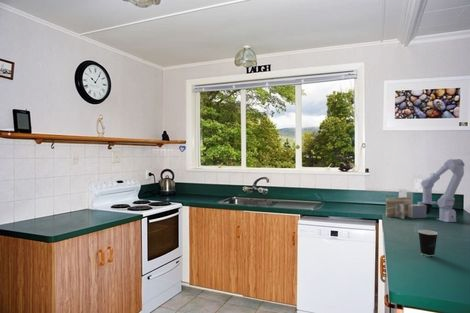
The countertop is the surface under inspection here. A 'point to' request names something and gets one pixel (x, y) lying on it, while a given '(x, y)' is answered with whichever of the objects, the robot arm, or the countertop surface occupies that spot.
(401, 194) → the skincare box
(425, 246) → the dixie cup
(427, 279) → the countertop surface
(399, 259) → the countertop surface
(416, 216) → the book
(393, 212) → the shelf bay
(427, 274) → the countertop surface
